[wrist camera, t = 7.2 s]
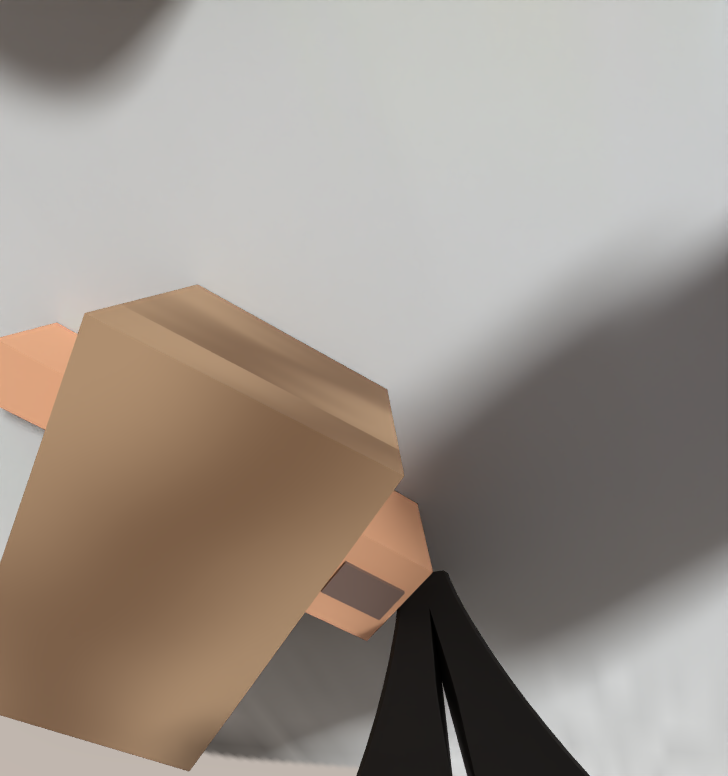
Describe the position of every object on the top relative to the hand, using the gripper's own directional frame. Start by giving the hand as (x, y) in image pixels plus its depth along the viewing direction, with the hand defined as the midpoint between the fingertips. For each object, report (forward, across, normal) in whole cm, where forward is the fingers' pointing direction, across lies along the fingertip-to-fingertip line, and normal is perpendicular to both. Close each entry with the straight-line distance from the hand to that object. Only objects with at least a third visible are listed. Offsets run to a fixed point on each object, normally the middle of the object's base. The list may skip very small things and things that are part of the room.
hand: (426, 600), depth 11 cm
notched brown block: (+1, +5, -4) cm, 7 cm away
